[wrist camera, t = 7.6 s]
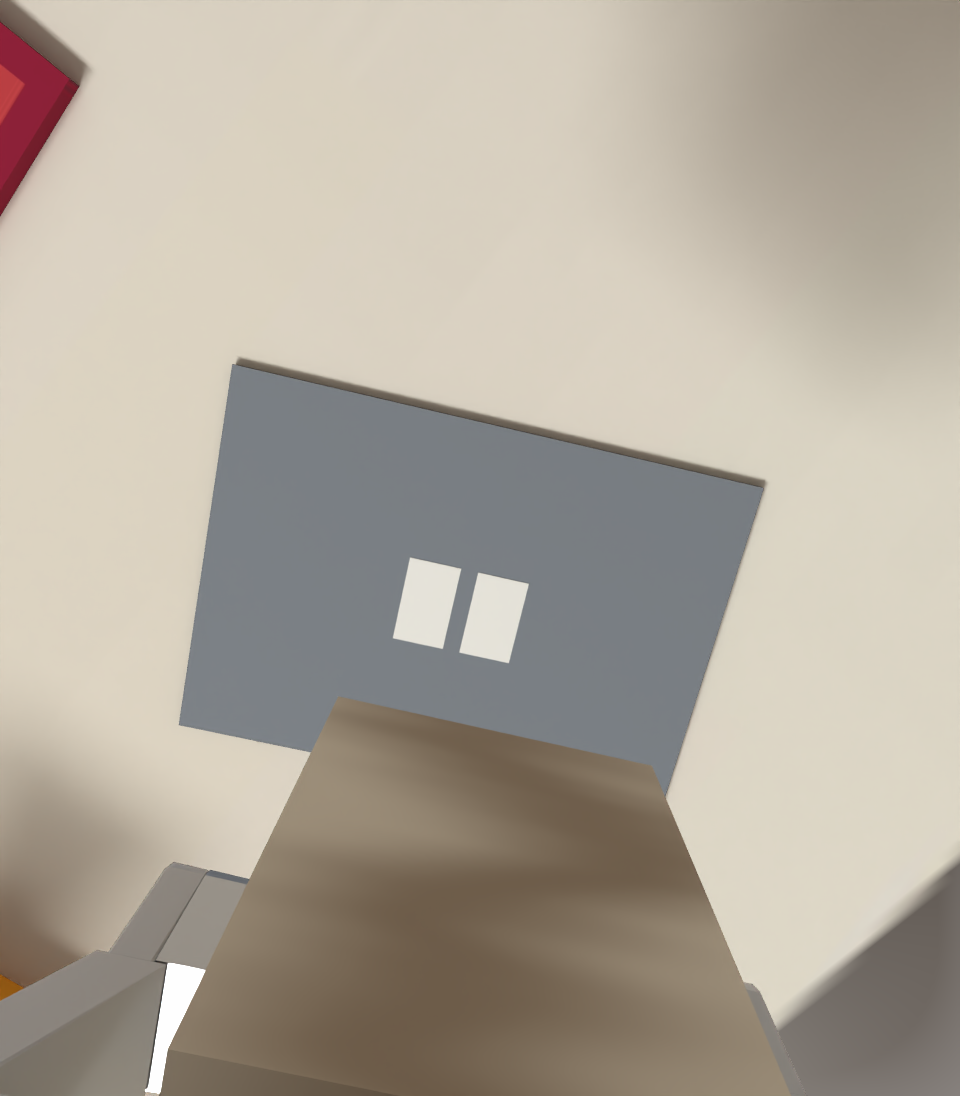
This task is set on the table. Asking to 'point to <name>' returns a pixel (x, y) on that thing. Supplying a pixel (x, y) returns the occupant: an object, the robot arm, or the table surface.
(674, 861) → the maple block
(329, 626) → the grey mat
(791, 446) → the table surface
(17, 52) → the red board with handle
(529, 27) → the table surface
